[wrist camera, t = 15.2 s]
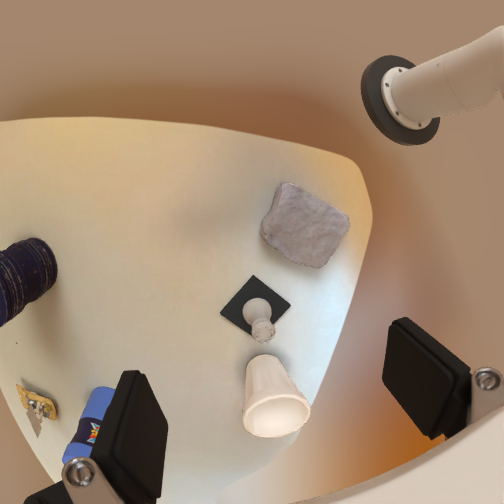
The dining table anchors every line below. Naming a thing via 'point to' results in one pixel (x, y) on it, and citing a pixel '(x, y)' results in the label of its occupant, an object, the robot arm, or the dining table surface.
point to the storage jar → (24, 275)
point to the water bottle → (89, 424)
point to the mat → (252, 291)
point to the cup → (272, 399)
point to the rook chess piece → (259, 319)
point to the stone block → (303, 226)
